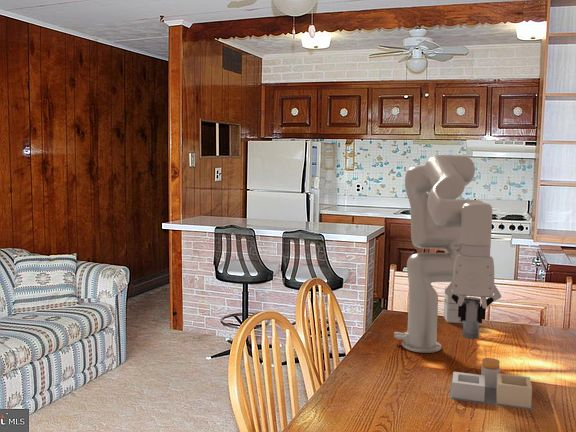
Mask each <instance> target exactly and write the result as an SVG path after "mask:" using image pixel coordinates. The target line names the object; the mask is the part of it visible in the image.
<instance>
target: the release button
mask: <svg viewBox="0 0 576 432" xmlns="http://www.w3.org/2000/svg"><path fill="white" fill-rule="evenodd" d="M482 366H483V367H485V368H489V369H498V368H499V366H500V360H498V359H496V358H492V357H484V358H483V359H482V360H481V367H482Z"/></svg>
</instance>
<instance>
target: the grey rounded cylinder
mask: <svg viewBox="0 0 576 432" xmlns="http://www.w3.org/2000/svg"><path fill="white" fill-rule="evenodd" d="M480 306H481V298H480V297H474V296H467V297H465V298H464V320H463V323H462V337H463V338H465V339H468V340H477V339H479V337H480V323H479V315H480Z"/></svg>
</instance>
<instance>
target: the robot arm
mask: <svg viewBox="0 0 576 432" xmlns="http://www.w3.org/2000/svg"><path fill="white" fill-rule="evenodd" d="M475 173H476V167H475V164H474V161H473V159H472V158H470V157H469V156H467V155H462V154H461V155H457V154H456V155H454V154H453V155H452V154H451V155H450V154H437V155H434V156H431V157H430V158H429V159H427V160H426V162H425V164H424V165H416V166H412V167H410V168H408V169H407V170H406V172H405V177H404V188H405V192H406V195H407V199H408V202H409V206H410V235H411V236H410V238H411V243H412V245H413V246H414V247H415V248H418V249H426V250H427V249H435V250H436V249H437V250H438V249H440V250H444V252H417V253H414V254H413V253H412V254H411V255H409V257H408V259H407V261H406V271H407V278H408V305H407V307H408V308H407V310H408V311H407V330H406V331H404V332H400V331H393V338H395V339H396V340H399V341H401V340H402V343H401V345H402V347H403V349H405V350H407V351H411V352H414V353H421V354H422V353H423V354H431V353H437V352H439V351H440V350H442V344H441V343H440V342H438V341H437V339H438V338H437V337H438V336H437V335H438V316H439V314H438V313H439V311H438V310H439V295H438V292H437V290H436V289H435V288H434V287H433V286H432V283H449V284H448V287H447V288H446V290H445V289H444V295H445V294H447V295H448V296H450V297H451V298H452V299H453V300H454V301H455V302H456V303H457V305H458V317H461V322H463V320H464V302H463V299H464V296H467V297H476V298H480V299H481V301H480V315H479V324H483V320H484V321H486V309H487V307H489V306H490V305H492V304H493V302H496V301H497V300H500V299H501V298H502V294H501V292H500V290H499V289H498V288H497V285H495V263H494V261H495V260H494V258H493V257H492V256H491V247H492V246H491V244H492V226H493V207H492V205H491V204H489V203H485V202H483V201H482V200H480V199H461V198H459V197H461V196H462V195H463V193H464V191H465V189H466V186H468V185H469V184H470V183H471V182H472V181H473V179H474V178H475ZM452 291H453V292H452ZM456 294H457V295H459V297H458V296H457V295H456Z"/></svg>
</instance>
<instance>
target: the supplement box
mask: <svg viewBox="0 0 576 432" xmlns="http://www.w3.org/2000/svg"><path fill="white" fill-rule="evenodd" d="M448 286H449V285H448ZM448 286H444V291H445V290H446V288H447V287H448ZM452 292H453V291H452ZM456 295H457V294H456ZM457 296H458V297H459V295H457ZM465 297H468V296H464V298H465ZM443 299H444V303H443V319H445V322H446V323H454V324H463V322H461V317H458V305H457V303H456V302H455V301H454V300H453V299H452V298H451V297H450V296H448V295H447V294H445V293H444V298H443ZM463 302H464V299H463Z"/></svg>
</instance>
